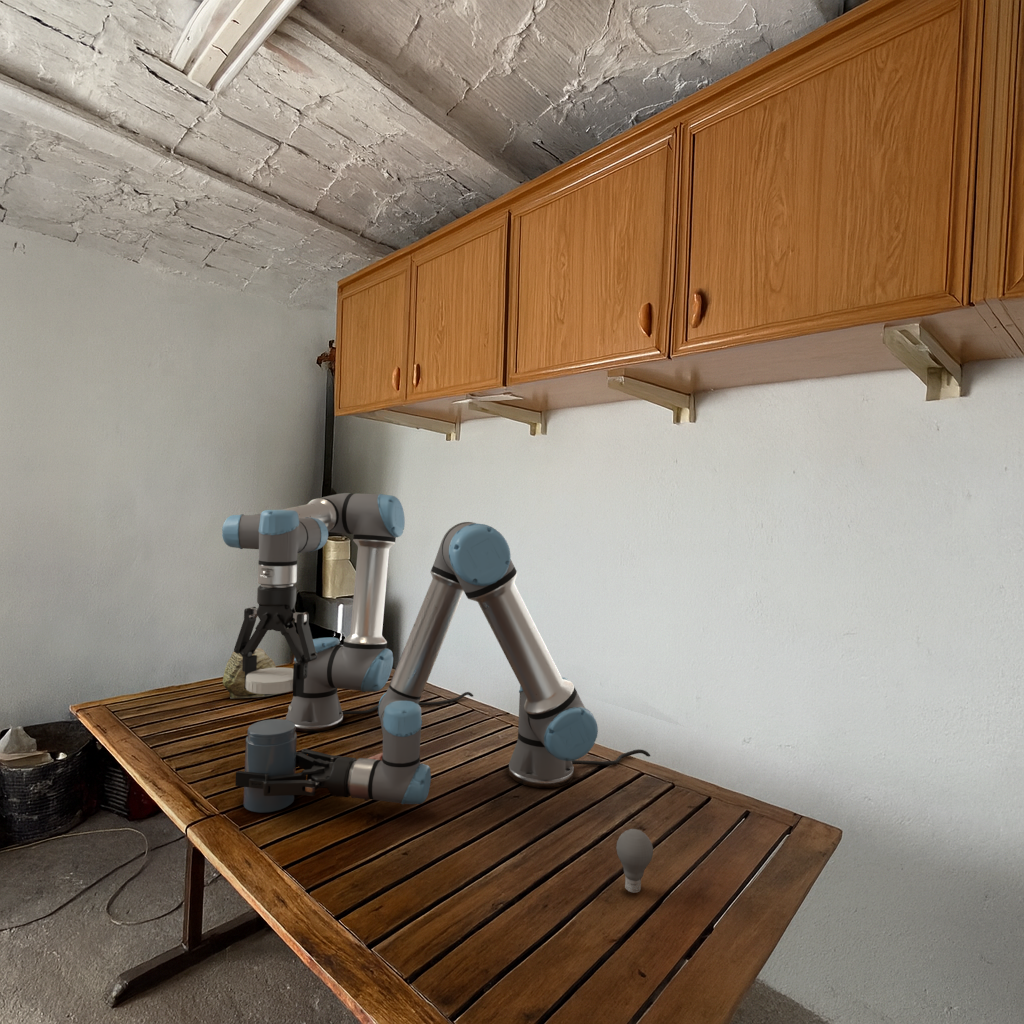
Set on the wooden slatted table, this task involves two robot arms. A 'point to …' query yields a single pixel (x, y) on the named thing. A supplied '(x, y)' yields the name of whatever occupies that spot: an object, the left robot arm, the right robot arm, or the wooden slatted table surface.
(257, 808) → the jar
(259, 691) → the lid
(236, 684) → the fossil
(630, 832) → the light bulb
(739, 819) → the wooden slatted table surface
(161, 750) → the wooden slatted table surface
